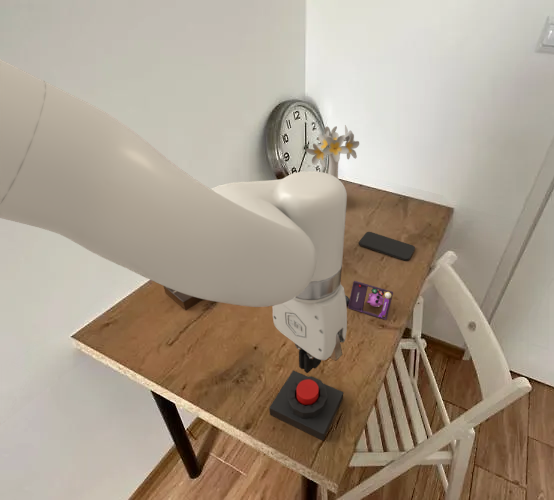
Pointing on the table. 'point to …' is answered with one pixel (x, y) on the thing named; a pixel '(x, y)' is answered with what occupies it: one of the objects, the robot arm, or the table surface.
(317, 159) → the flower vase
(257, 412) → the table surface
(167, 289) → the plate
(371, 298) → the purple printed box
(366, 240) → the phone
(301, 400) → the button
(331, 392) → the box
